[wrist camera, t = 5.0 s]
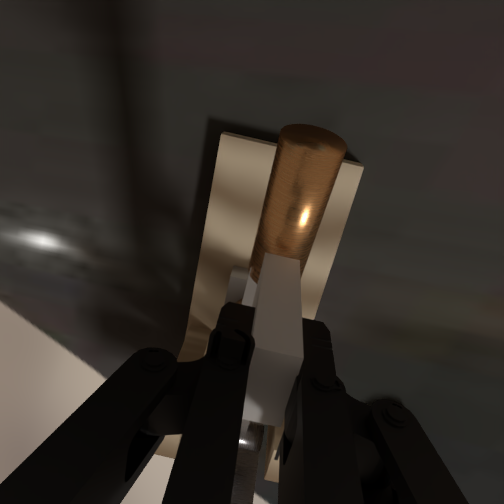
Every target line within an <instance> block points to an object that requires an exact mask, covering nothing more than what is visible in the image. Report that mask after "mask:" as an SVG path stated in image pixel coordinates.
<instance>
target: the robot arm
mask: <svg viewBox="0 0 504 504" xmlns="http://www.w3.org/2000/svg"><path fill="white" fill-rule="evenodd" d="M284 416H285V418H284ZM242 419H245V420H249V421H254V422H258V423H262V424H267V425H271V426H275V427H280V428H281V425H282V422H283V419H284V431H283V434H282V437H281V440H280V443H279V446H278V449H277V452H276V455H275V458H274V460H278V458H279V484H278V504H469V503H468V502H467V500H466V498H465V497H464V495H463V493H462V492H461V490H460V489H459V487H458V485H457V484H456V482H455V480H454V479H453V477H452V476H451V474H450V472H449V471H448V469H447V468H446V466H445V464H444V463H443V461H442V459H441V458H440V456H439V455H438V453H437V451H436V450H435V448H434V446H433V445H432V443H431V442H430V440H429V438H428V437H427V435H426V434H425V432H424V430H423V429H422V427H421V425H420V424H419V422H418V421H417V419H416V418H415V416H414V415H413V414H412V413H411V412H410V411H409V410H408V409H407V408H405V407H404V406H403V405H401V404H399V403H397V402H395V401H392V400H387V399H382V400H377V401H376V402H374V403H373V404H372V406H371V407H370V406H368V405H366V404H364V403H362V402H360V401H358V400H356V399H354V398H353V397H351V396H350V395H348V394H347V393H346V389H345V386H344V384H343V382H342V381H341V380H340V379H339V378H338V377H337V376H336V371H335V364H334V357H333V350H332V343H331V336H330V331H329V330H328V328H327V327H326V326H325V324H324V323H323V322H320V321H316V320H311V319H307V318H303V317H302V304H301V280H300V260H296V259H292V258H287V257H283V256H279V255H274V254H270V253H266V252H265V255H264V259H263V263H262V268H261V272H260V276H259V280H258V284H257V288H256V292H255V296H254V300H253V304H252V307H251V306H246V305H242V304H238V303H233V302H228V303H226V304H225V305H224V306H223V307H221V310H220V314H219V317H218V320H217V324H216V327H215V329H213V330H212V332H211V333H210V336H209V341H208V346H207V351H206V355H205V356H203V357H202V358H200V359H198V360H195V361H189V362H177V359H176V358H175V356H174V355H173V354H172V353H170V352H168V351H167V350H164V349H160V348H145V349H141V350H139V351H137V352H136V353H134V354H133V355H132V356H131V357H130V358H129V359H128V360H127V361H126V362H125V363H124V364H123V365H122V366H121V367H120V368H118V369H117V370H116V371H115V372H114V373H113V374H112V375H111V376H110V377H109V378H108V379H107V380H106V381H105V382H104V383H103V384H102V385H101V386H100V387H99V388H98V389H97V390H96V391H95V392H94V393H93V394H92V395H91V396H90V397H89V398H88V399H87V400H86V401H85V402H84V403H83V404H82V405H81V406H80V407H79V408H78V409H77V410H76V411H75V412H74V413H72V414H71V416H69V417H68V418H67V419H66V420H65V421H64V423H62V424H61V425H60V426H59V427H58V428H57V429H56V430H55V431H54V432H53V433H52V434H51V435H50V436H49V437H48V438H47V439H46V440H45V441H44V442H43V443H42V444H41V445H40V446H39V447H38V448H37V449H36V450H35V451H34V452H33V453H32V454H31V455H30V456H29V457H27V458H26V460H24V461H23V462H22V464H20V465H19V466H18V467H17V468H16V469H15V470H14V471H13V472H12V473H11V474H10V475H9V476H8V477H7V478H6V479H5V480H4V481H3V482H2V483H1V484H0V504H120V503H121V502H122V500H123V499H124V497H125V496H126V494H127V493H128V491H129V490H130V488H131V487H132V486H133V484H134V483H135V481H136V480H137V478H138V477H139V475H140V474H141V472H142V471H143V469H144V468H145V466H146V465H147V463H148V462H149V461H150V459H151V458H152V456H153V455H154V453H155V452H156V450H157V449H158V447H159V446H160V444H161V443H162V441H163V440H164V437H165V435H178V434H182V437H181V440H180V443H179V447H178V450H177V454H176V457H175V460H174V464H173V467H172V470H171V474H170V477H169V481H168V484H167V487H166V491H165V494H164V497H163V501H162V504H231V497H232V489H233V482H234V475H235V468H236V461H237V453H238V446H239V439H240V432H241V424H242ZM279 455H280V456H279Z"/></svg>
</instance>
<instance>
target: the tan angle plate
mask: <svg viewBox="0 0 504 504" xmlns="http://www.w3.org/2000/svg"><path fill="white" fill-rule="evenodd" d="M276 148H277V143H273V142H268V141H264V140H260V139H255V138H251V137H247V136H243V135H238V134H234V133H230V132H226V131H224V132H223V133H222V134H221V137H220V143H219V149H218V154H217V160H216V166H215V171H214V177H213V183H212V188H211V194H210V200H209V205H208V211H207V217H206V222H205V228H204V234H203V239H202V245H201V251H200V256H199V262H198V268H197V273H196V279H195V285H194V290H193V296H192V302H191V307H190V313H189V319H188V324H187V330H186V336H185V340H184V343H183V346H182V348H181V351H180V353H179V356H178V358H177V362H189V361H195V360H198V359H200V358H202V357H203V356H205V355H206V351H207V346H208V341H209V336H210V333H211V332H212V330H213V329H215V327H216V324H217V320H218V317H219V314H220V310H221V307H223V306H224V305H225V304H226V303H228V302H233V303H238V304H242V299H243V295H244V291H245V287H246V283H247V279H248V275H249V272H248V266H249V262H250V258H251V254H252V249H253V245H254V241H255V237H256V232H257V228H258V224H259V220H260V216H261V211H262V207H263V203H264V199H265V194H266V190H267V186H268V182H269V177H270V173H271V169H272V165H273V160H274V156H275V152H276ZM363 169H364V167H363V165H362V164H361V163H358V162H354V161H350V160H345V159H343V161H342V164H341V167H340V170H339V173H338V176H337V178H336V181H335V184H334V187H333V190H332V192H331V195H330V198H329V201H328V204H327V207H326V209H325V212H324V215H323V218H322V221H321V224H320V226H319V229H318V232H317V235H316V238H315V240H314V243H313V246H312V249H311V252H310V255H309V257H308V260H307V263H306V266H305V269H304V271H303V274H302V277H301V304H302V317H303V318H307V319H311V320H314V318H315V315H316V312H317V308H318V305H319V302H320V299H321V296H322V293H323V290H324V287H325V284H326V281H327V278H328V275H329V272H330V269H331V266H332V263H333V260H334V257H335V254H336V251H337V248H338V245H339V242H340V239H341V236H342V233H343V230H344V227H345V223H346V220H347V217H348V214H349V211H350V208H351V205H352V202H353V199H354V196H355V193H356V190H357V187H358V184H359V181H360V178H361V175H362V172H363ZM284 418H285V416H284ZM283 431H284V419H283V422H282V425H281V428H280V427H275V426H271V425H268V433H267V448H266V462H265V476H264V479H265V480H269V481H274V482H278V483H279V458H278V460H274V458H275V455H276V452H277V449H278V446H279V443H280V440H281V437H282V434H283ZM181 437H182V434H178V435H165V437H164V440H163V441H162V443H161V444H160V446H159V447H158V449H157V450H156V452H155V453H154V454H157V455H161V456H165V457H169V458H174V459H175V457H176V454H177V450H178V447H179V443H180V440H181ZM279 456H280V455H279Z"/></svg>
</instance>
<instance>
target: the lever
mask: <svg viewBox="0 0 504 504" xmlns="http://www.w3.org/2000/svg"><path fill="white" fill-rule="evenodd" d="M346 150H347V144H346V142H345V141H344V140H343V139H342V138H341V137H339V136H338V135H336V134H335V133H333V132H331V131H329V130H326V129H323V128H320V127H317V126H313V125H307V124H291V125H287V126H284V127H283V128H282V129H281V131H280V135H279V139H278V144H277V148H276V152H275V156H274V160H273V165H272V169H271V173H270V177H269V182H268V186H267V190H266V194H265V199H264V203H263V207H262V211H261V216H260V220H259V224H258V228H257V232H256V237H255V241H254V245H253V249H252V254H251V258H250V262H249V266H248V272H249V275H248V279H247V283H246V287H245V291H244V295H243V299H242V305H246V306H251V307H252V304H253V300H254V296H255V292H256V288H257V284H258V280H259V276H260V272H261V268H262V263H263V259H264V255H265V252H266V253H270V254H274V255H279V256H283V257H287V258H292V259H296V260H300V280H301V277H302V274H303V271H304V269H305V266H306V263H307V260H308V257H309V255H310V252H311V249H312V246H313V243H314V240H315V238H316V235H317V232H318V229H319V226H320V224H321V221H322V218H323V215H324V212H325V209H326V207H327V204H328V201H329V198H330V195H331V192H332V190H333V187H334V184H335V181H336V178H337V176H338V173H339V170H340V167H341V164H342V161H343V159H344V156H345V153H346ZM263 434H264V426H263V424H262V423H258V422H254V421H249V420H245V419H242V424H241V432H240V439H239V446H238V453H237V461H236V468H235V475H234V482H233V489H232V497H231V504H253V495H254V489H255V481H256V473H257V465H258V457H259V451H260V449H261V445H262V440H263Z"/></svg>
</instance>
